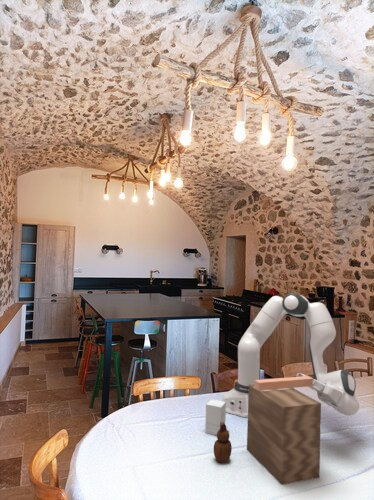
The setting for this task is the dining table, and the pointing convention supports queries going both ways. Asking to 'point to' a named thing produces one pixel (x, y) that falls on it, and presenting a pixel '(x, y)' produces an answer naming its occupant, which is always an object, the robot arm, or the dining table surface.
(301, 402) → the walnut pedestal
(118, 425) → the dining table surface
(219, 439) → the wooden figurine
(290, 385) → the terracotta bar
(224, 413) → the supplement box
